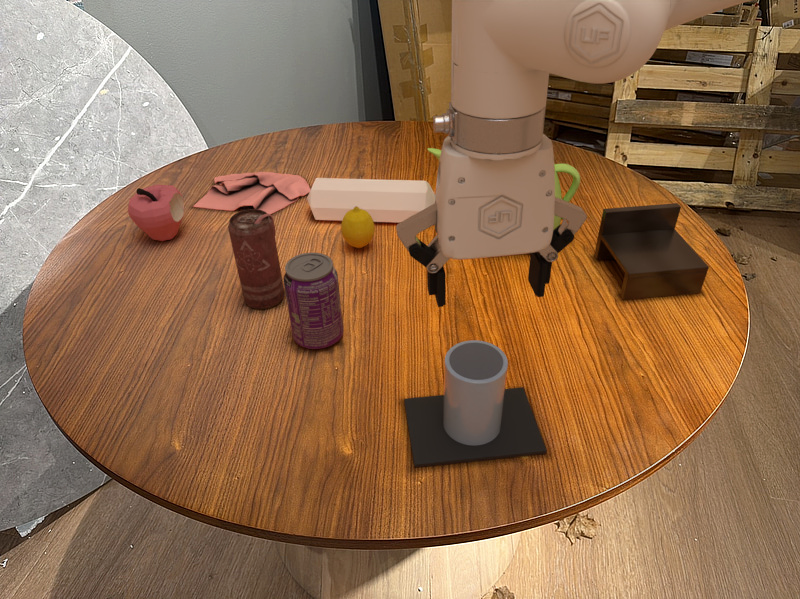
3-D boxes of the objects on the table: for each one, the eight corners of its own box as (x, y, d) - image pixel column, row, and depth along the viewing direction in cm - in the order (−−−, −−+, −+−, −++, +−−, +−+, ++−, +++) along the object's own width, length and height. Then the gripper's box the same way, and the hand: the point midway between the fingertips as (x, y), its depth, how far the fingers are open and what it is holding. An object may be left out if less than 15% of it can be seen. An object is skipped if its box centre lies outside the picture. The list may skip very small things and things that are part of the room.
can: (293, 300, 93) (280, 219, 85) (254, 315, 91) (236, 234, 82) (276, 281, 97) (262, 202, 89) (238, 295, 95) (220, 215, 86)
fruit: (344, 258, 102) (340, 216, 97) (341, 241, 106) (337, 199, 102) (377, 255, 103) (375, 213, 98) (373, 238, 107) (371, 196, 102)
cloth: (327, 192, 121) (325, 181, 119) (228, 233, 109) (225, 221, 108) (270, 160, 133) (268, 150, 132) (176, 194, 122) (173, 183, 120)
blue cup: (493, 399, 76) (499, 337, 69) (507, 442, 70) (515, 379, 64) (438, 404, 75) (440, 342, 69) (448, 448, 70) (450, 385, 64)
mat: (522, 390, 77) (523, 386, 77) (546, 454, 69) (547, 450, 69) (404, 401, 76) (404, 398, 76) (414, 468, 68) (414, 464, 68)
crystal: (439, 183, 114) (312, 179, 117) (437, 180, 107) (302, 177, 110) (437, 223, 115) (312, 219, 118) (436, 223, 108) (302, 219, 111)
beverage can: (316, 314, 91) (307, 244, 83) (354, 331, 87) (347, 260, 80) (282, 340, 86) (269, 269, 79) (321, 360, 83) (311, 288, 75)
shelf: (664, 250, 102) (677, 202, 96) (700, 293, 92) (717, 243, 87) (593, 256, 101) (603, 208, 96) (622, 300, 91) (635, 250, 86)
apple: (173, 253, 105) (158, 200, 99) (128, 247, 106) (110, 196, 100) (200, 224, 112) (187, 174, 106) (157, 220, 114) (142, 170, 108)
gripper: (396, 152, 47) (404, 326, 57) (617, 134, 48) (586, 308, 58) (387, 117, 53) (396, 280, 63) (584, 101, 54) (561, 264, 64)
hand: (487, 293), depth 61 cm, fingers open, 9 cm apart
